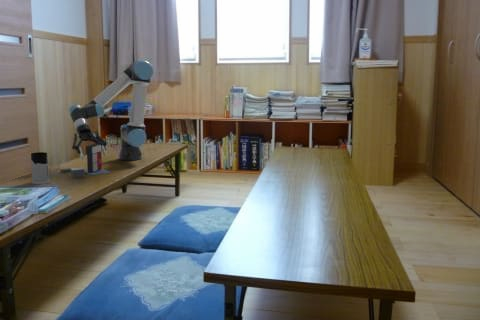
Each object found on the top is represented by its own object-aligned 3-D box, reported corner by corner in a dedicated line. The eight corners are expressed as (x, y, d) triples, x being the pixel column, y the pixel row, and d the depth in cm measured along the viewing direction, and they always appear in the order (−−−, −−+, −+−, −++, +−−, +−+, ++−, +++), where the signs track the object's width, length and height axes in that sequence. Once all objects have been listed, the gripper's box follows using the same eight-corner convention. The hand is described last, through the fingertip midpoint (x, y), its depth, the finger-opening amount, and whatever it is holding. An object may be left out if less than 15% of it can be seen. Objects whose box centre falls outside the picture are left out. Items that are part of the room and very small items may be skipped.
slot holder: (71, 171, 255) (70, 162, 254) (84, 177, 240) (84, 168, 239) (59, 172, 251) (59, 163, 250) (73, 178, 236) (72, 169, 235)
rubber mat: (98, 168, 263) (98, 167, 263) (110, 172, 252) (110, 171, 251) (80, 170, 256) (80, 169, 256) (91, 175, 244) (91, 174, 244)
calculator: (93, 173, 248) (92, 146, 245) (86, 172, 248) (85, 146, 246) (102, 169, 258) (101, 143, 256) (95, 168, 259) (94, 143, 256)
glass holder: (32, 180, 229) (30, 152, 227) (61, 179, 234) (60, 151, 232) (30, 184, 221) (28, 155, 219) (61, 182, 226) (59, 154, 224)
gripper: (100, 130, 271) (112, 158, 263) (59, 133, 255) (71, 162, 247) (104, 122, 266) (116, 150, 258) (62, 124, 250) (74, 154, 242)
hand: (94, 156), depth 253 cm, fingers open, 13 cm apart
